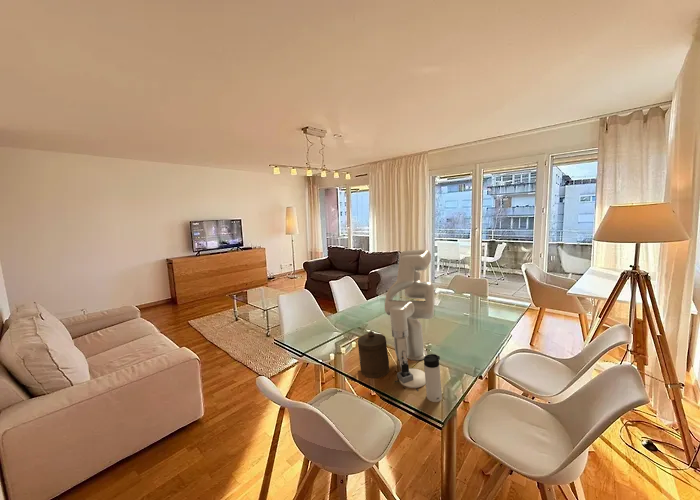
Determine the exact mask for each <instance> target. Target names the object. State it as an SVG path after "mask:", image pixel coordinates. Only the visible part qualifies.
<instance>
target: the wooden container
mask: <svg viewBox="0 0 700 500" xmlns="http://www.w3.org/2000/svg"><path fill="white" fill-rule="evenodd" d="M357 346H358V348H357V349H358V355H359V357H358V358H359V366H360V372H361V374H362V375H363V376H364V377H365V378H368V379H369V378H370V379H379V378H383V377H385V376H386V375H388V374H389V372H390V361H389V355H388V354H389V353H388V347H387V338H386V336H385V335H384V334H381V333H375V332H374V331H369V332H367V333H365V334H363V335H361V336H359V338H358V339H357Z"/></svg>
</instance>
